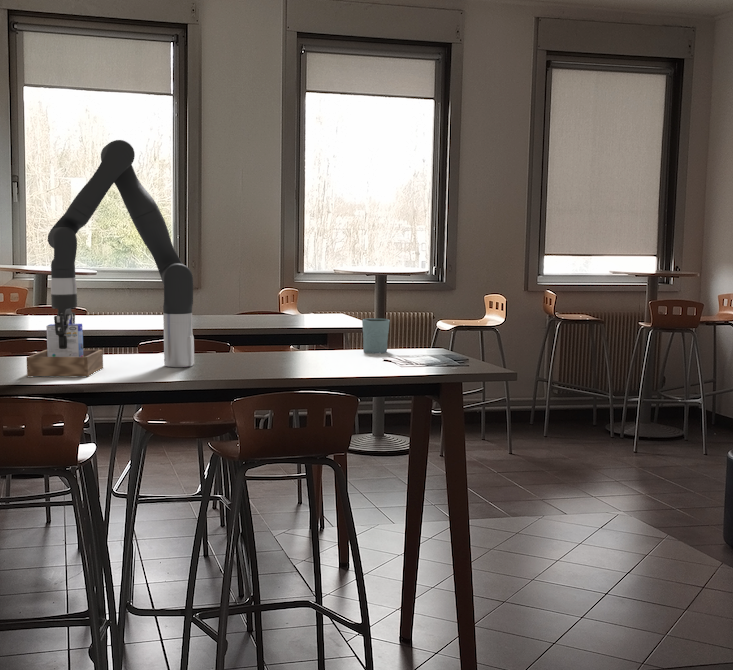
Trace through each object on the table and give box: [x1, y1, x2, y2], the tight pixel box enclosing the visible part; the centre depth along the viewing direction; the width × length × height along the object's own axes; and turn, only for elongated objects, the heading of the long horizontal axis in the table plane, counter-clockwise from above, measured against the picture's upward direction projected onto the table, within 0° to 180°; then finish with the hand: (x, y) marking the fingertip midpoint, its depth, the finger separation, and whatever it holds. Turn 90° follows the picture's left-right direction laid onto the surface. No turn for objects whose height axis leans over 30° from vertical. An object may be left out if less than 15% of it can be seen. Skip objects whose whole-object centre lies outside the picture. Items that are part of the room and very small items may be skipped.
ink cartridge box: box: [46, 319, 84, 357], centre depth 281 cm, size 10×6×14 cm, turn 93°
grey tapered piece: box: [361, 317, 391, 354], centre depth 335 cm, size 10×10×12 cm
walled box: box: [26, 349, 104, 377], centre depth 282 cm, size 18×18×6 cm
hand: (65, 347), depth 281 cm, fingers closed on ink cartridge box, 5 cm apart
